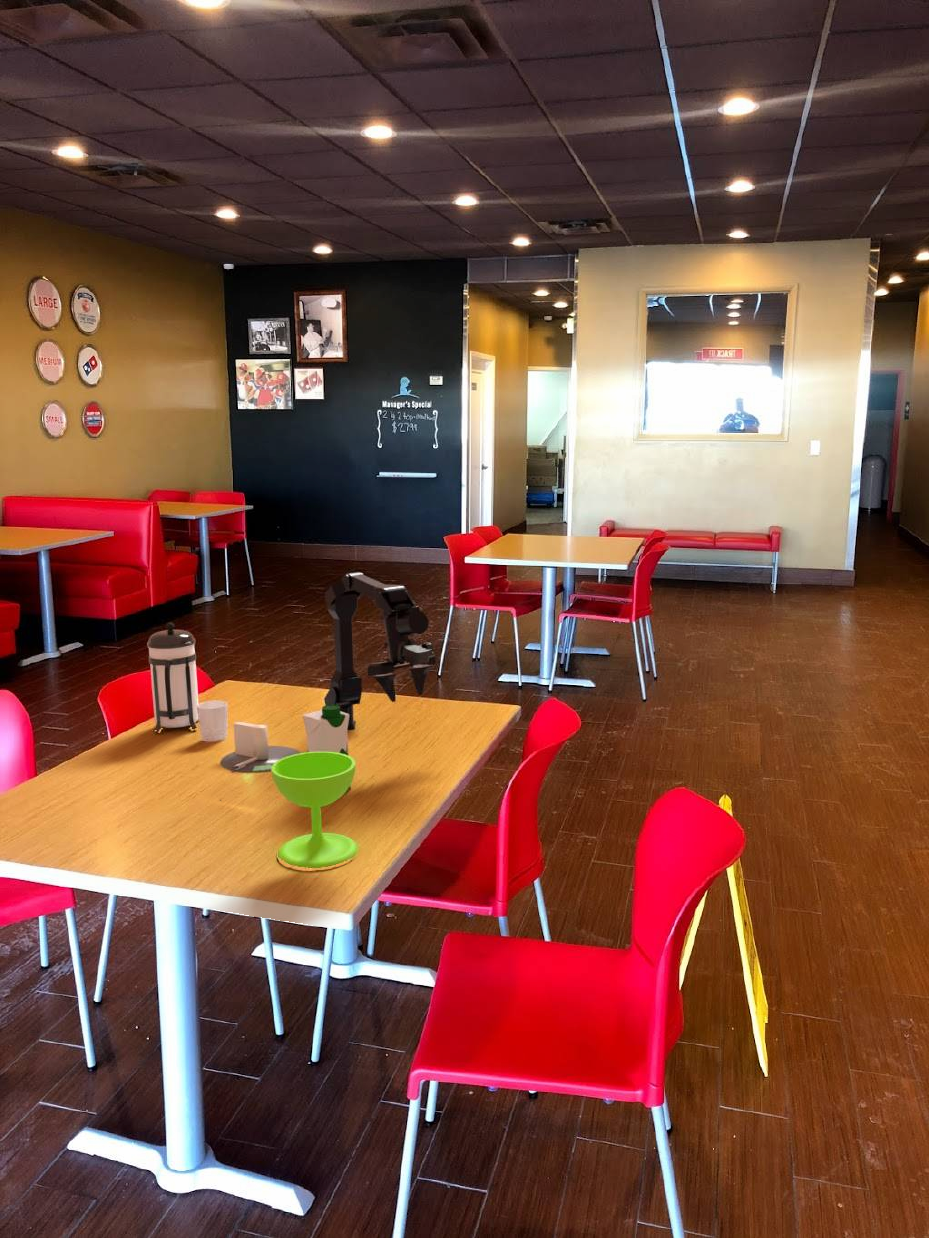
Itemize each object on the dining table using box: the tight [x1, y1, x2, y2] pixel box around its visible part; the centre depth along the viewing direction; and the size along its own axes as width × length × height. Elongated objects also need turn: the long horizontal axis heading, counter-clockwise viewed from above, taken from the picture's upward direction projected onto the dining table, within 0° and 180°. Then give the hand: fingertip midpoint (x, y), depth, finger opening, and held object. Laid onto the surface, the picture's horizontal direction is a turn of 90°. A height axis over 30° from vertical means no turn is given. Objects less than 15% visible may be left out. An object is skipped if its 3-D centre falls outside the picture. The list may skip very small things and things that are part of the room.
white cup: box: [197, 699, 229, 742], centre depth 256 cm, size 8×8×10 cm
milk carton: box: [301, 705, 352, 791], centre depth 218 cm, size 9×9×20 cm
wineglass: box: [271, 751, 359, 868], centre depth 185 cm, size 16×16×18 cm
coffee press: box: [146, 622, 199, 731], centre depth 265 cm, size 17×16×30 cm
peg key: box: [232, 721, 269, 769], centre depth 236 cm, size 10×12×8 cm
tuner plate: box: [219, 745, 302, 774], centre depth 239 cm, size 20×20×1 cm
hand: (407, 698), depth 238 cm, fingers open, 9 cm apart
